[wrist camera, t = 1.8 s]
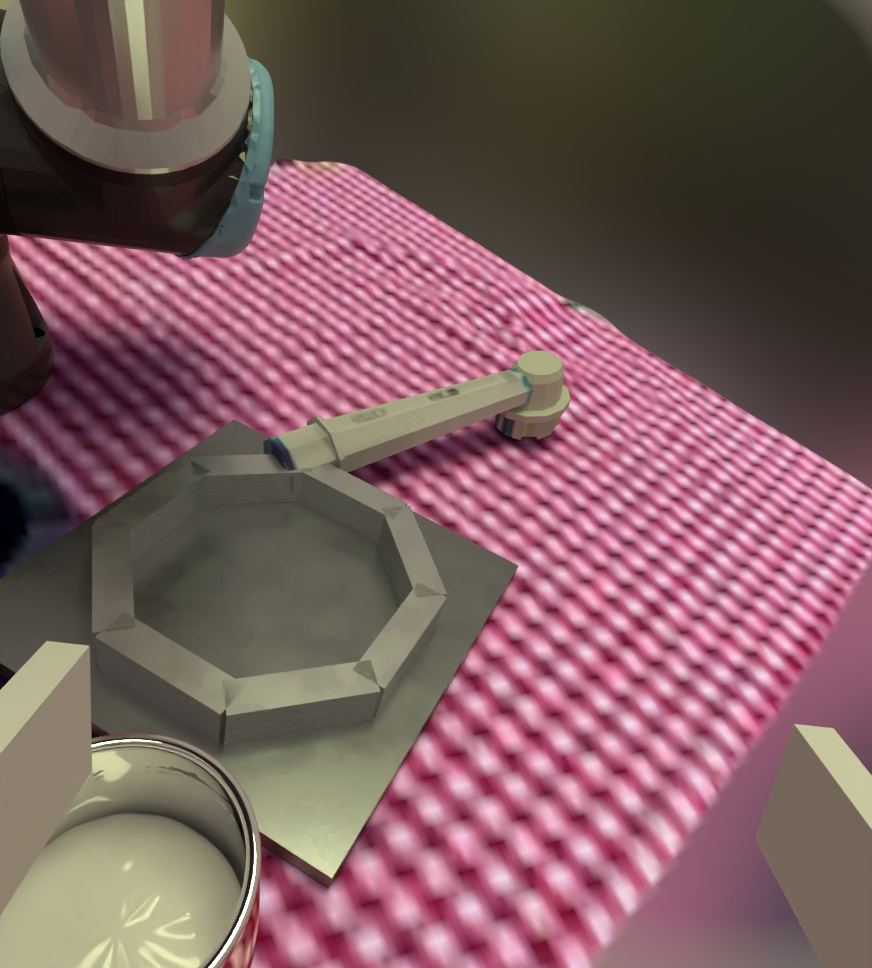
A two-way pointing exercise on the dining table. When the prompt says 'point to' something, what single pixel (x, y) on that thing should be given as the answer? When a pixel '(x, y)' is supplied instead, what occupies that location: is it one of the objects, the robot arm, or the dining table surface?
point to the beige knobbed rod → (432, 417)
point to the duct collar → (264, 629)
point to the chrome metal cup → (143, 867)
